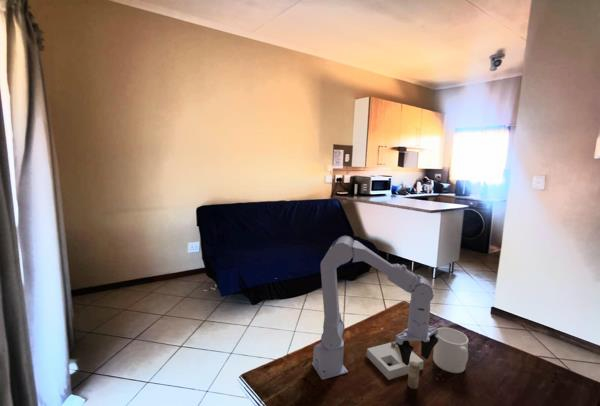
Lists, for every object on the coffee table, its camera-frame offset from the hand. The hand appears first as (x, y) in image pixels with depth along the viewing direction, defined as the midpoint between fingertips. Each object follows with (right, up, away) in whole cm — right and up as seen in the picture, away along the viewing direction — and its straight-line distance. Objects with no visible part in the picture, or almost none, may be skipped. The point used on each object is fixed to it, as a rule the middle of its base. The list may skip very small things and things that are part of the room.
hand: (415, 360), depth 90 cm
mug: (+16, -8, +11) cm, 21 cm away
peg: (0, -8, +1) cm, 8 cm away
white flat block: (-3, -7, +11) cm, 14 cm away
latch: (+1, -1, +13) cm, 13 cm away
